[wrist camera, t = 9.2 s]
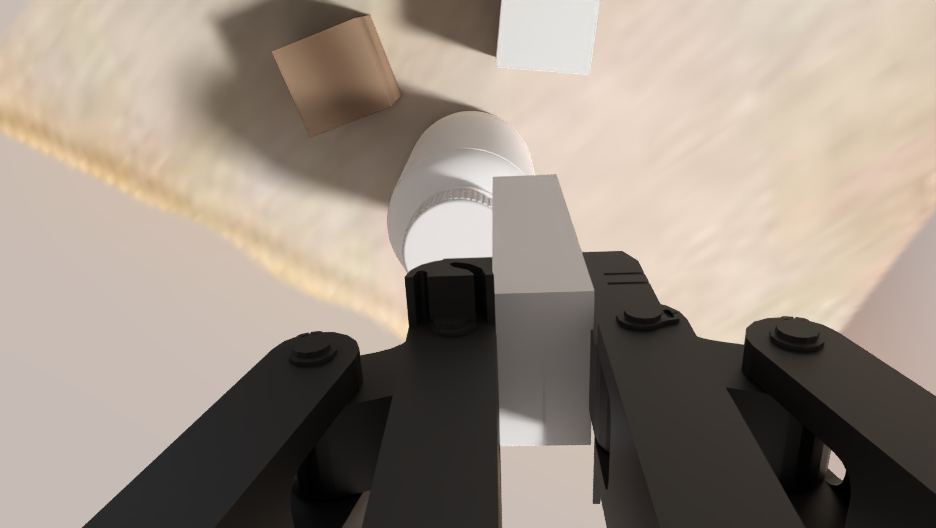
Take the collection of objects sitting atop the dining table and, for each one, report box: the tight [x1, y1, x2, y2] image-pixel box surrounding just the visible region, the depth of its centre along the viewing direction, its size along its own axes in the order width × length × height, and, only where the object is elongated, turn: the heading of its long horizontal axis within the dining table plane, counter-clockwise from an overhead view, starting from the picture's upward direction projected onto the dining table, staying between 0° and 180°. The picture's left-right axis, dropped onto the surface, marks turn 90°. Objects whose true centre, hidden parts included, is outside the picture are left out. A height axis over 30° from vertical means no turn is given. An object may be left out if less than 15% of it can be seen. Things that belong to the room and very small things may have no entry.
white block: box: [496, 0, 600, 75], centre depth 38 cm, size 5×5×6 cm
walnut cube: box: [272, 15, 402, 137], centre depth 40 cm, size 5×5×5 cm
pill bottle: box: [387, 111, 535, 274], centre depth 38 cm, size 8×8×15 cm
